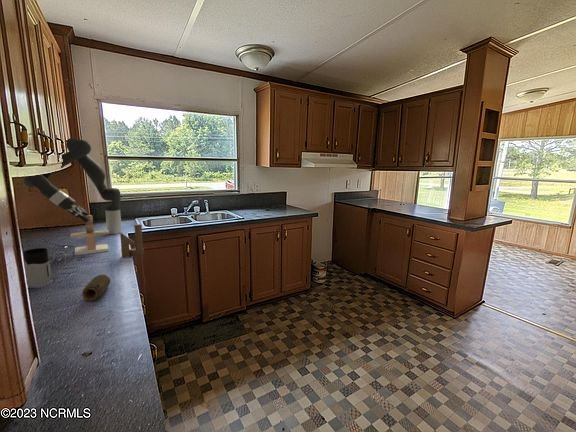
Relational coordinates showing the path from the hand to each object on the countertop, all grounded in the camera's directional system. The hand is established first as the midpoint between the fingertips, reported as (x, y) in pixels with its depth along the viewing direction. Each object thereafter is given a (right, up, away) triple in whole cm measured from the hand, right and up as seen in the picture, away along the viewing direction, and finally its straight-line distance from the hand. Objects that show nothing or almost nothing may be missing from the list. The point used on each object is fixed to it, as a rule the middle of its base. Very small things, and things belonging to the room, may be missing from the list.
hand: (89, 219), depth 160 cm
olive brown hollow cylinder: (+38, -30, -48) cm, 68 cm away
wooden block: (+27, -21, -2) cm, 34 cm away
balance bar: (-1, -9, +2) cm, 9 cm away
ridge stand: (-1, -18, +3) cm, 19 cm away
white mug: (+12, -27, -41) cm, 50 cm away
